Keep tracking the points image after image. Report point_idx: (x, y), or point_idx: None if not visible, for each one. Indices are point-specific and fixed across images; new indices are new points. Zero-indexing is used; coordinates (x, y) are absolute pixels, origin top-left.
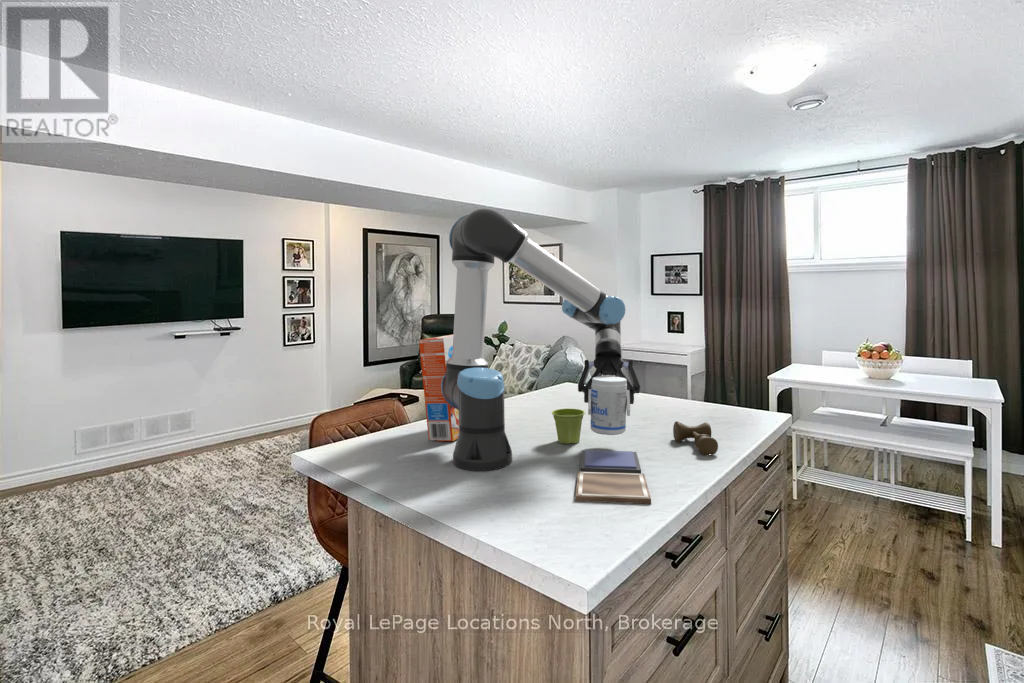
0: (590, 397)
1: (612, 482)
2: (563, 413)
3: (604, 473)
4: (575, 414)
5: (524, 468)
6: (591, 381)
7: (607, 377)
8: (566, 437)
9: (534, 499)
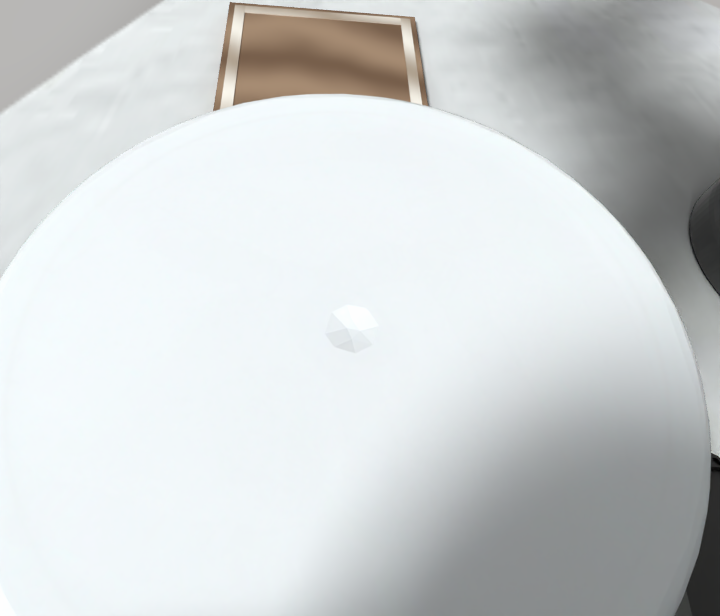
0: None
1: (321, 78)
2: None
3: None
4: None
5: (622, 209)
6: (711, 553)
7: (399, 478)
8: None
9: (508, 36)
